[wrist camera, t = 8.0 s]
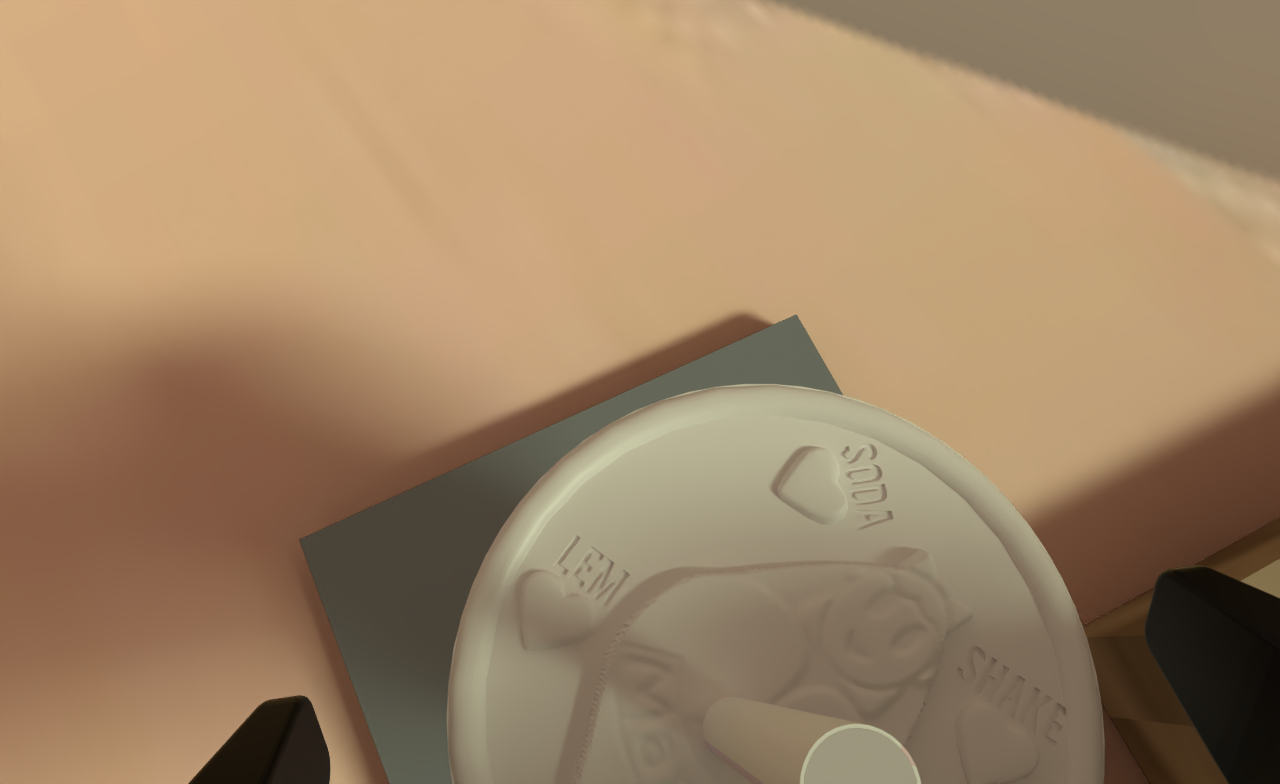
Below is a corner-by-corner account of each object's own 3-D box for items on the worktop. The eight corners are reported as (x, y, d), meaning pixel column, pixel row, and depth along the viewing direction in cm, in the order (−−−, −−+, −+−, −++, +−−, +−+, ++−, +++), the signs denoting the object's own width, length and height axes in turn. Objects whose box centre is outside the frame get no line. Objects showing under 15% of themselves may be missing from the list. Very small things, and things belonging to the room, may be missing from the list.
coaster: (536, 1135, 16) (531, 1166, 15) (314, 545, 19) (299, 539, 18) (1065, 817, 18) (1091, 826, 17) (787, 330, 21) (796, 314, 20)
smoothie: (473, 627, 17) (29, 489, 4) (733, 469, 19) (1040, -36, 5) (638, 931, 16) (786, 2324, 2) (910, 736, 17) (1982, 971, 4)
